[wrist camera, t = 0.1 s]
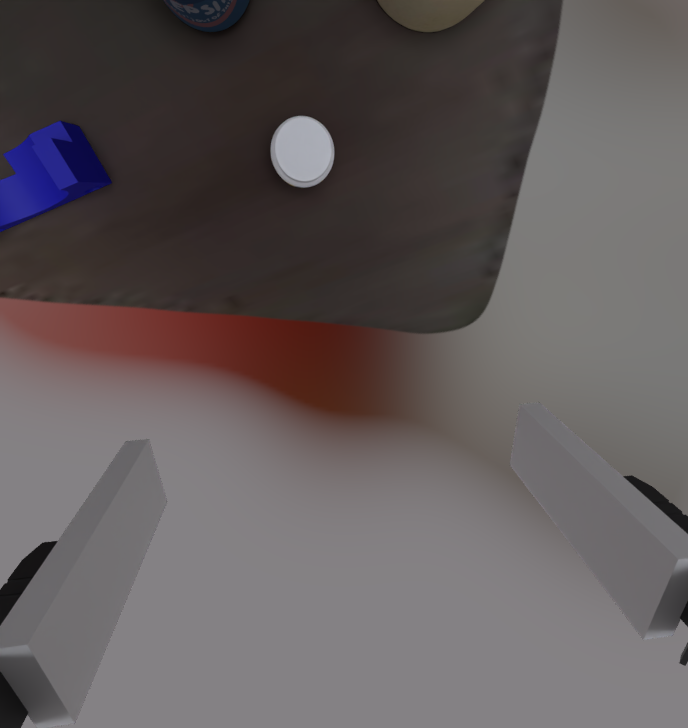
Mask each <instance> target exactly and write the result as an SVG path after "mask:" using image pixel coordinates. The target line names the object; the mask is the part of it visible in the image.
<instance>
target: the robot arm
mask: <svg viewBox="0 0 688 728" xmlns="http://www.w3.org/2000/svg"><path fill="white" fill-rule="evenodd" d="M510 466H511V467H512V468H513V470H514V471H515V472H516V474H517V475H518V476H519V478H520V479H521V480H522V482H523V483H524V484H525V485H526V487H527V488H528V489H529V491H530V492H531V493H532V495H533V496H534V497H535V499H536V500H537V501H538V503H539V504H540V505H541V506H542V508H543V509H544V510H545V512H546V513H547V514H548V516H549V517H550V518H551V519H552V521H553V522H554V524H555V525H556V526H557V527H558V529H559V530H560V531H561V533H562V534H563V535H564V537H565V538H566V539H567V541H568V542H569V543H570V544H571V546H572V547H573V548H574V550H575V551H576V552H577V554H578V555H579V556H580V557H581V559H582V560H583V562H584V563H585V564H586V565H587V567H588V568H589V569H590V571H591V572H592V573H593V575H594V576H595V577H596V579H597V580H598V581H599V583H600V584H601V585H602V586H603V588H604V589H605V590H606V592H607V593H608V594H609V596H610V597H611V598H612V600H613V601H614V602H615V603H616V605H617V606H618V607H619V609H620V610H621V611H622V613H623V614H624V615H625V616H626V618H627V619H628V620H629V622H630V623H631V624H632V626H633V627H634V628H635V630H636V631H637V632H638V634H639V635H640V636H641V638H642V639H643V640H646V639H653V638H660V637H667V636H672V635H673V634H674V632H675V630H676V628H677V626H678V623H679V621H680V619H681V620H682V621H683V622H684V623H685V624H686V625H687V626H688V516H686V515H683V514H682V511H681V510H679V509H678V508H677V507H676V506H675V505H674V504H672V503H669V500H668V499H666V498H665V497H664V496H663V495H662V494H660V493H659V492H658V491H657V490H656V489H655V488H653V487H652V486H650V485H648V484H647V483H645V482H643V481H641V480H639V479H637V478H636V477H634V476H624V477H623V476H622V475H621V474H620V473H618V472H617V471H616V470H615V469H614V468H613V467H612V466H610V465H609V464H608V463H607V462H606V461H605V460H604V459H603V458H602V457H600V456H599V455H598V454H597V453H596V452H595V451H594V450H593V449H591V448H590V447H589V446H588V445H587V444H586V443H584V441H582V440H581V439H580V438H579V437H578V436H577V435H576V434H575V433H573V432H572V431H571V430H570V429H569V428H568V427H567V426H566V425H564V424H563V423H562V422H561V421H560V420H559V419H558V418H557V417H555V416H554V415H553V414H552V413H551V412H550V411H549V410H548V409H546V408H545V407H544V406H543V405H542V404H541V403H540V402H538V403H527V404H520V405H519V410H518V417H517V423H516V429H515V436H514V441H513V448H512V454H511V461H510ZM166 504H167V498H166V495H165V492H164V488H163V485H162V481H161V478H160V475H159V471H158V468H157V464H156V461H155V458H154V455H153V451H152V447H151V444H150V441H149V439H146V440H135V441H126V442H125V443H124V445H123V446H122V448H121V449H120V450H119V452H118V454H117V455H116V456H115V458H114V460H113V461H112V462H111V464H110V465H109V467H108V468H107V470H106V471H105V473H104V474H103V476H102V477H101V479H100V480H99V481H98V483H97V484H96V486H95V487H94V489H93V490H92V492H91V493H90V495H89V496H88V498H87V499H86V501H85V502H84V504H83V505H82V506H81V508H80V509H79V511H78V512H77V514H76V515H75V517H74V518H73V520H72V521H71V523H70V524H69V526H68V527H67V529H66V530H65V531H64V533H63V534H62V536H61V537H60V539H59V540H58V541H53V542H44V543H42V544H40V546H38V547H37V548H36V549H35V550H34V551H32V552H31V553H30V554H29V555H28V556H26V557H25V558H24V559H23V560H22V561H21V562H20V564H19V565H18V566H17V568H16V569H15V570H14V572H13V573H12V574H11V576H10V577H9V579H8V582H7V583H6V584H4V585H3V587H2V588H1V590H0V728H21V726H22V724H23V722H24V720H25V718H26V716H27V714H28V716H29V717H30V719H31V720H32V722H33V723H34V725H35V726H36V727H37V728H49V727H55V726H62V725H69V724H75V722H76V720H77V718H78V715H79V713H80V710H81V708H82V706H83V703H84V701H85V698H86V696H87V694H88V691H89V689H90V686H91V684H92V682H93V679H94V677H95V674H96V672H97V669H98V667H99V665H100V662H101V660H102V657H103V655H104V653H105V650H106V648H107V646H108V643H109V641H110V638H111V636H112V633H113V631H114V629H115V626H116V624H117V622H118V619H119V616H120V614H121V612H122V609H123V607H124V605H125V602H126V600H127V597H128V595H129V592H130V590H131V588H132V586H133V583H134V581H135V578H136V576H137V573H138V571H139V569H140V566H141V564H142V561H143V559H144V556H145V554H146V552H147V549H148V547H149V545H150V542H151V540H152V537H153V535H154V533H155V530H156V528H157V525H158V523H159V521H160V518H161V516H162V513H163V511H164V509H165V506H166ZM687 662H688V643H687V645H686V647H685V649H684V651H683V653H682V655H681V659H680V663H681V664H682V665H686V664H687Z"/></svg>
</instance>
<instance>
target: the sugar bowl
mask: <svg viewBox="0 0 688 728" xmlns="http://www.w3.org/2000/svg"><path fill="white" fill-rule="evenodd" d="M377 1H378V3H379V4H380V6H381V7H382V9H383V10H384V11H385V12H386V13H387V14H388V15H389V16H390V17H391V18H392V19H393V20H395V21H396V22H398V23H399V24H401V25H403V26H405V27H406V28H408V29H412V30H415V31H420V32H437V31H441V30H444V29H446V28H449V27H452V26H453V25H455V24H457V23H458V22H460V21H461V20H463V19H464V18H466V17H467V16H468V15H469V14H470V13H471V12H473V11H474V10H475V9H476V8H477V7H478V6H479V5H480V4H481V3H482V2H484V1H485V0H377Z"/></svg>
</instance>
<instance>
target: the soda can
mask: <svg viewBox="0 0 688 728" xmlns="http://www.w3.org/2000/svg"><path fill="white" fill-rule="evenodd" d="M163 1H164V2H165V3H166V5H167V6H168V8H169V9H170V10H171V11H172V12H173V13H174V14H175V15H176V16H177V17H178V18H179V19H180V20H181V21H182V22H184V23H185V24H187V25H189V26H190V27H192V28H195V29H197V30H201V31H205V32H217V31H221V30H224V29H227V28H229V27H230V26H232V25H233V24H235V23H236V22H237V21H238V20H239V19H240V17H241V16H242V15H243V13H244V12H245V10H246V8H247V6H248V3H249V0H163Z"/></svg>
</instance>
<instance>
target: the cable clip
mask: <svg viewBox="0 0 688 728" xmlns="http://www.w3.org/2000/svg"><path fill="white" fill-rule="evenodd" d="M3 155H4V156H5V158H6V159H7V161H8V162H9V164H10V165H11V167H12V168H13V170H14V171H15V172H16V174H15V175H12V176H10V177H8V178H5V179H2V180H0V232H2V231H4V230H6V229H8V228H11V227H13V226H15V225H18V224H20V223H22V222H24V221H27V220H29V219H31V218H34V217H36V216H38V215H40V214H43V213H45V212H47V211H50V210H52V209H54V208H56V207H59V206H61V205H63V204H65V203H68V202H70V201H72V200H75V199H77V198H79V197H81V196H84V195H86V194H88V193H91V192H93V191H95V190H97V189H100V188H102V187H104V186H107V185H109V184H111V183H112V182H111V180H110V178H109V177H108V175H107V173H106V172H105V170H104V168H103V166H102V165H101V163H100V161H99V160H98V158H97V156H96V154H95V153H94V151H93V149H92V148H91V146H90V144H89V142H88V141H87V139H86V137H85V136H84V134H83V132H82V130H81V129H80V127H79V126H77V125H73V124H70V123H66V122H63V121H59V122H56V123H54V124H52V125H50V126H47V127H45V128H43V129H41V130H39V131H36V132H34V133H32V134H30V135H29V136H28V137H27V139H26V140H25V141H24V142H23V143H22V144H20V145H19V146H17V147H16V148H14V149H12V150H11V151H9V152H7V153H5V154H3Z"/></svg>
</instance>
